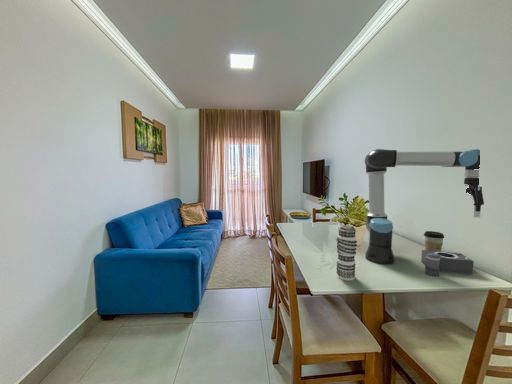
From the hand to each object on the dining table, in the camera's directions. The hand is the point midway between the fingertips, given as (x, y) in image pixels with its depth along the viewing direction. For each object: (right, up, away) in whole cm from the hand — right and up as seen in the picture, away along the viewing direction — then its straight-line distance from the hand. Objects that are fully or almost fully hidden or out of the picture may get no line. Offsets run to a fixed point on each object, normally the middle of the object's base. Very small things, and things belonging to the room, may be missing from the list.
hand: (470, 215), depth 130 cm
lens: (-33, -28, -14) cm, 45 cm away
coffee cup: (-15, -27, +9) cm, 32 cm away
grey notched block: (-20, -28, -7) cm, 35 cm away
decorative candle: (-77, -29, -17) cm, 84 cm away
